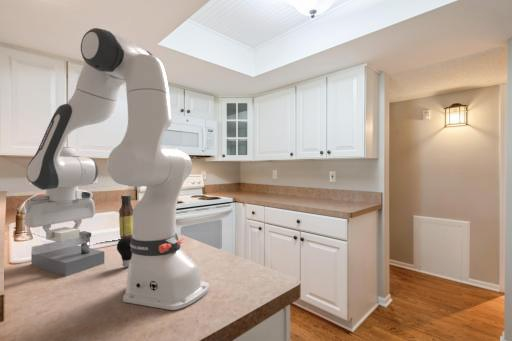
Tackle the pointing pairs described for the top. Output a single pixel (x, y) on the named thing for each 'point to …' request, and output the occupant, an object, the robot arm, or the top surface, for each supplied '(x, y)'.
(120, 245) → the light bulb
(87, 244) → the t key
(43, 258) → the housing
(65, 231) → the cover
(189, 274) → the robot arm
